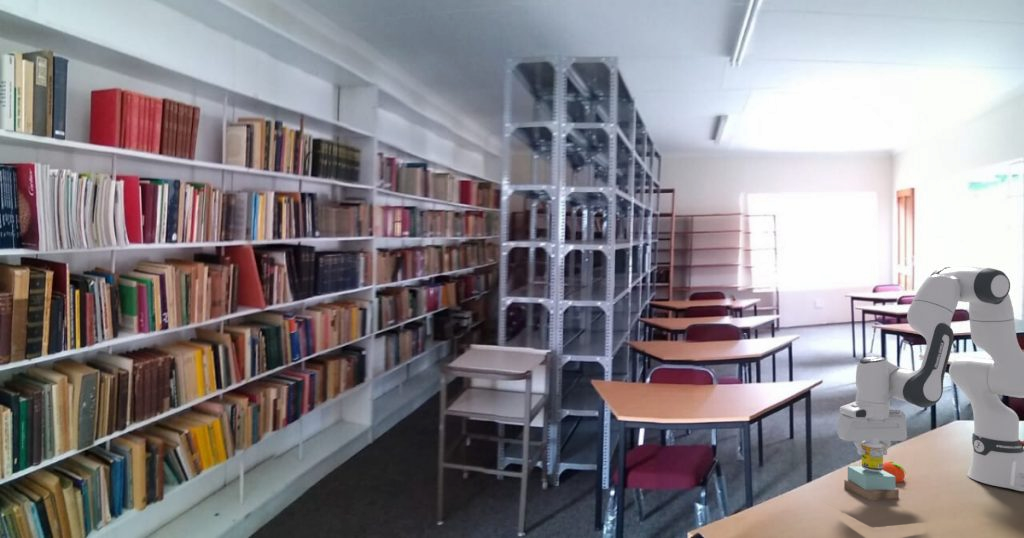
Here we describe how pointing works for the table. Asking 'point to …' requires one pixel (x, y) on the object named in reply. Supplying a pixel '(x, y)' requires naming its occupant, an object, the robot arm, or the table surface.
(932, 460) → the table surface
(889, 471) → the clementine
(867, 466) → the supplement bottle
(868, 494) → the walnut block
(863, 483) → the teal block
